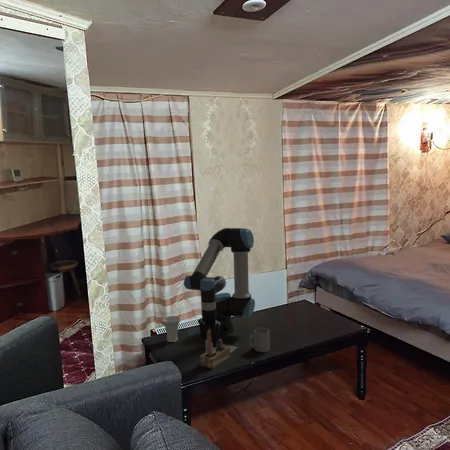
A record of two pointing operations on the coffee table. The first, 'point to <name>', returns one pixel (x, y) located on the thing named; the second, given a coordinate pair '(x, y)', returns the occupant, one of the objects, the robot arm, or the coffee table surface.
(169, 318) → the cup
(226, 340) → the coffee table surface
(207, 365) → the socket block
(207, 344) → the dowel
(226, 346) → the mat
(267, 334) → the mug
